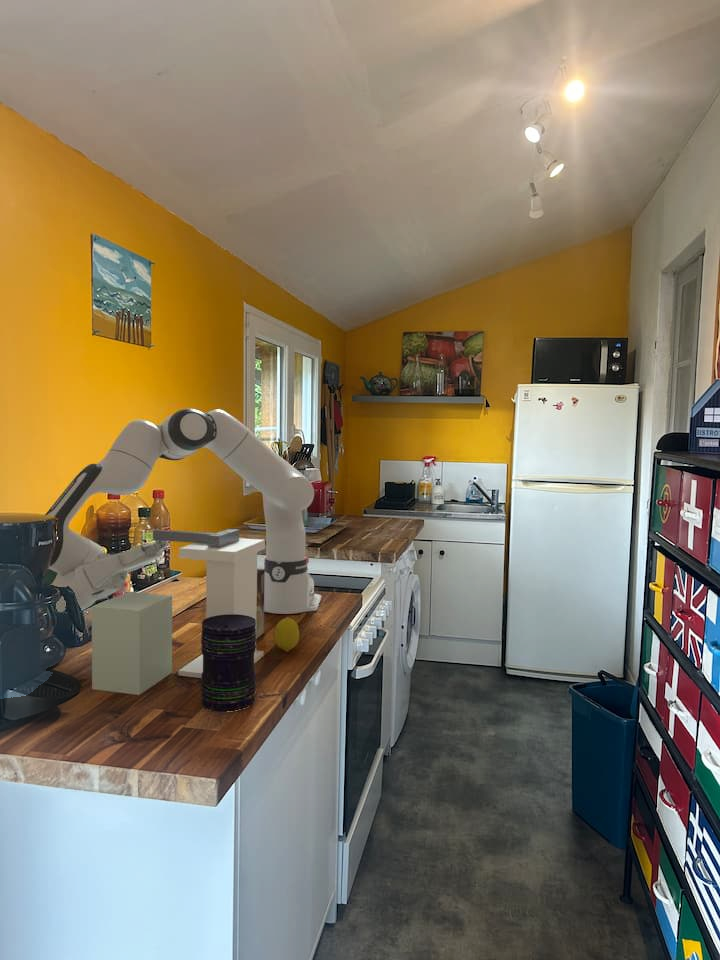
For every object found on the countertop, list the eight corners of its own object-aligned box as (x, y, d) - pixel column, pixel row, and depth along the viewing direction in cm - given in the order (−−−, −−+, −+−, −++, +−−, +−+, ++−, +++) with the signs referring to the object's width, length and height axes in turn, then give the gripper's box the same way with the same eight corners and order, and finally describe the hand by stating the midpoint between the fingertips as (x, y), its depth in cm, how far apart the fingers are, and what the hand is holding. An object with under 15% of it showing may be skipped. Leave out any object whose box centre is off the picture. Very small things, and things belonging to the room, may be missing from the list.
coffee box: (240, 630, 162) (241, 567, 161) (264, 632, 160) (265, 568, 159) (225, 642, 153) (226, 574, 152) (251, 644, 152) (252, 576, 150)
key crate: (128, 667, 135) (128, 591, 134) (172, 672, 132) (172, 595, 131) (92, 689, 123) (91, 606, 122) (139, 695, 121) (139, 610, 120)
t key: (167, 536, 144) (167, 525, 144) (239, 540, 140) (239, 529, 140) (142, 542, 134) (142, 531, 134) (218, 548, 131) (219, 536, 130)
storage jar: (208, 690, 124) (209, 613, 123) (259, 691, 124) (260, 614, 123) (193, 712, 114) (194, 628, 113) (249, 714, 114) (250, 630, 113)
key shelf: (213, 650, 147) (214, 536, 145) (263, 655, 144) (265, 539, 142) (178, 675, 131) (179, 548, 129) (233, 681, 128) (234, 552, 127)
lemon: (279, 657, 143) (280, 621, 143) (271, 649, 148) (271, 615, 148) (302, 653, 146) (303, 619, 145) (293, 646, 151) (294, 612, 150)
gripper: (138, 576, 152) (184, 549, 149) (83, 598, 132) (135, 567, 129) (125, 552, 152) (171, 525, 149) (68, 570, 133) (120, 540, 129)
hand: (154, 545), depth 139 cm, fingers open, 8 cm apart
